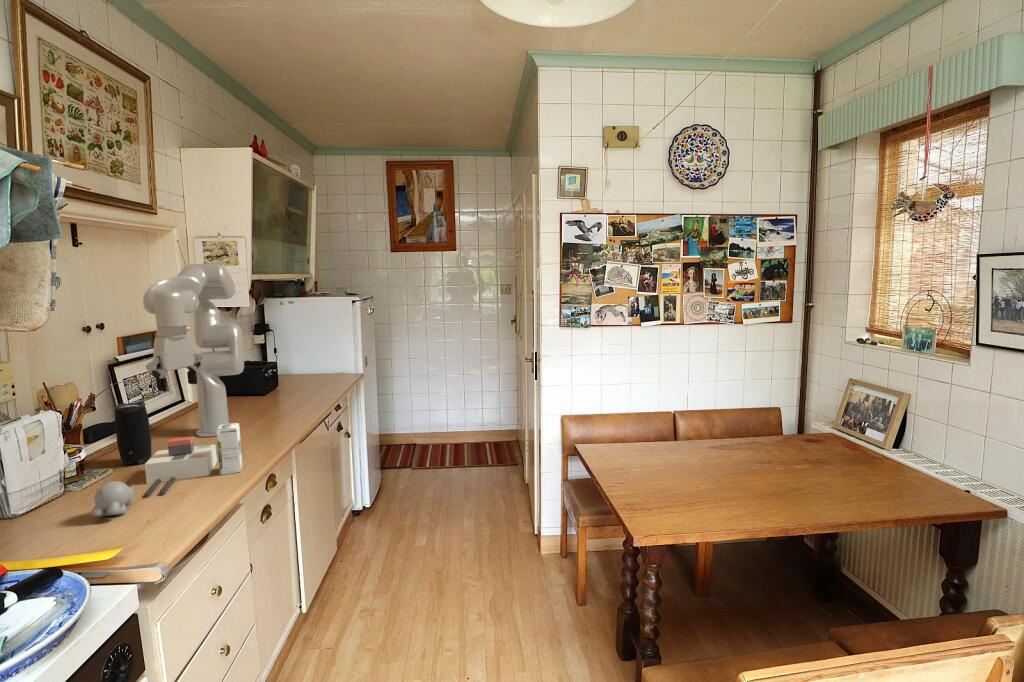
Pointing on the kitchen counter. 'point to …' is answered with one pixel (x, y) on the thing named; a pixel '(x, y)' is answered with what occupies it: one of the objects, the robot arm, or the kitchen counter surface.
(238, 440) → the syrup box
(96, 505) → the toy rhinoceros
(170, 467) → the block
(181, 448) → the handle
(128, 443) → the portable speaker
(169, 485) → the dressed cords
